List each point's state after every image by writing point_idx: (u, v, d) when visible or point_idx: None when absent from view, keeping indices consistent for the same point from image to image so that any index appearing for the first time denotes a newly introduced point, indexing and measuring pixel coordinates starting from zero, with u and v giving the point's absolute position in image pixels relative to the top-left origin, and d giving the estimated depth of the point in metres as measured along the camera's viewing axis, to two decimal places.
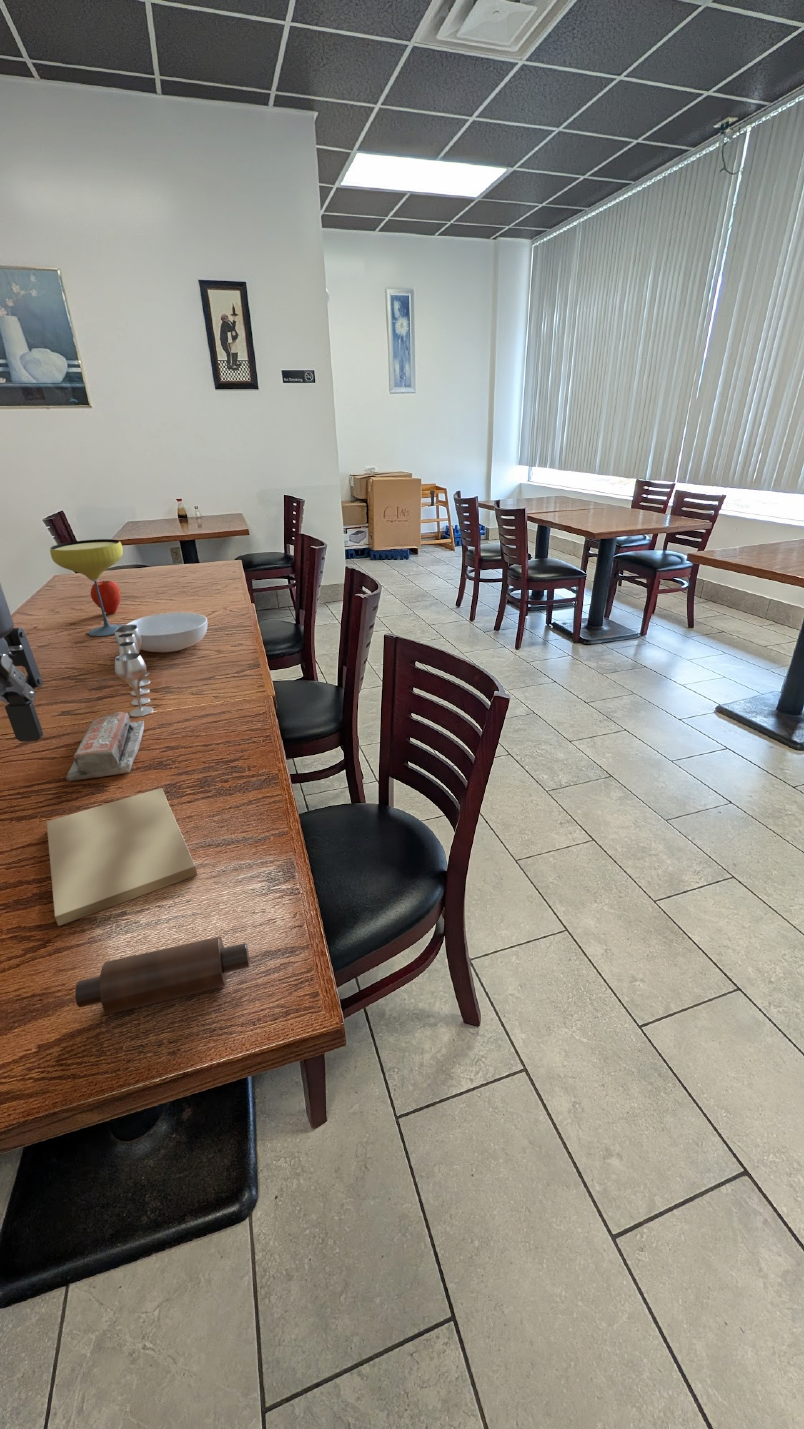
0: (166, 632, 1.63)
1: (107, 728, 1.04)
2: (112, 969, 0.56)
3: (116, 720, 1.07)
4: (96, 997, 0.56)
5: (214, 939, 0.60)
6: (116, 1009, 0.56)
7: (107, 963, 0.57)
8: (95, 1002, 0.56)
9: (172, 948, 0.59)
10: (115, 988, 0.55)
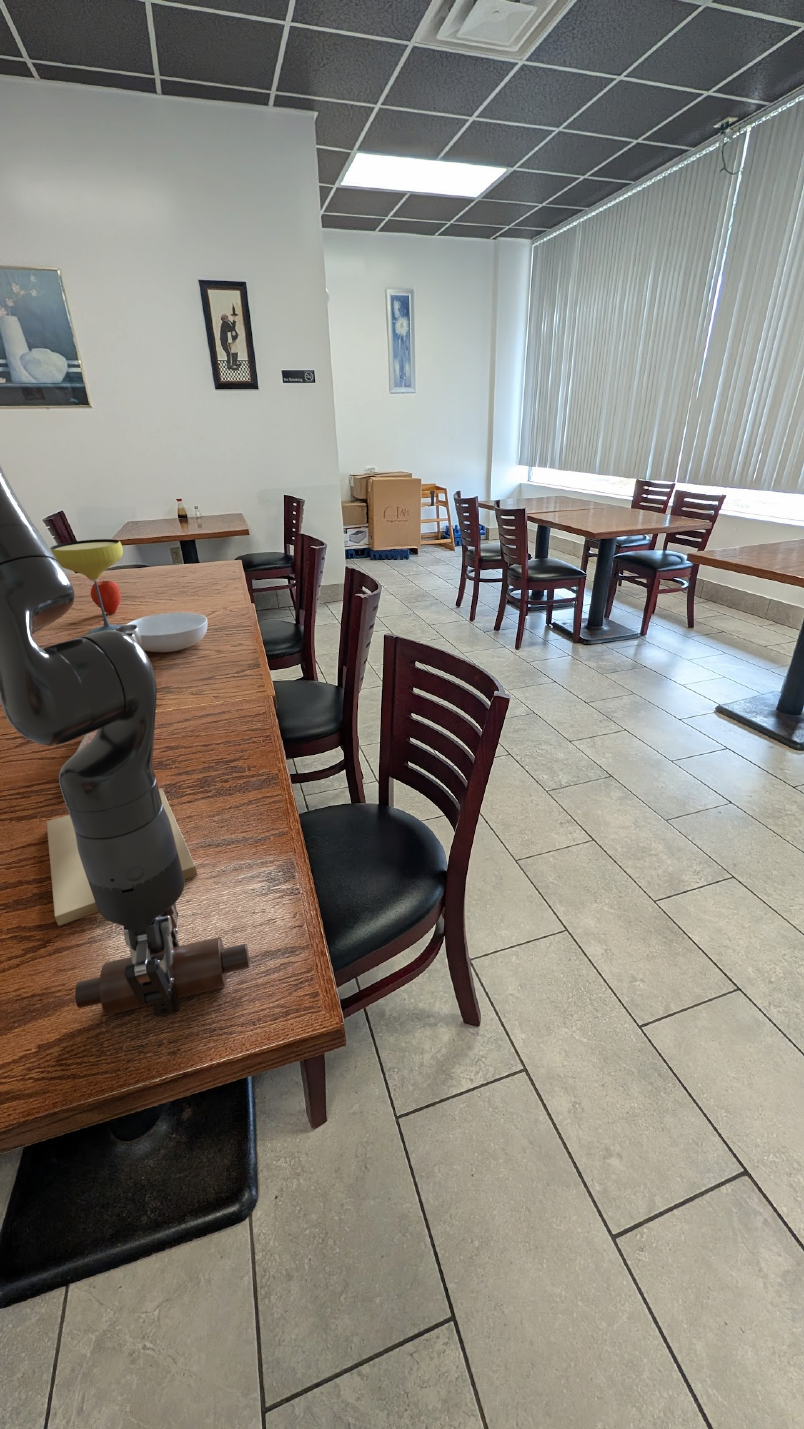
0: (166, 632, 1.63)
1: None
2: (112, 970, 0.56)
3: None
4: (96, 998, 0.56)
5: (214, 940, 0.59)
6: (116, 1011, 0.56)
7: (107, 964, 0.57)
8: (95, 1003, 0.56)
9: None
10: (115, 990, 0.55)
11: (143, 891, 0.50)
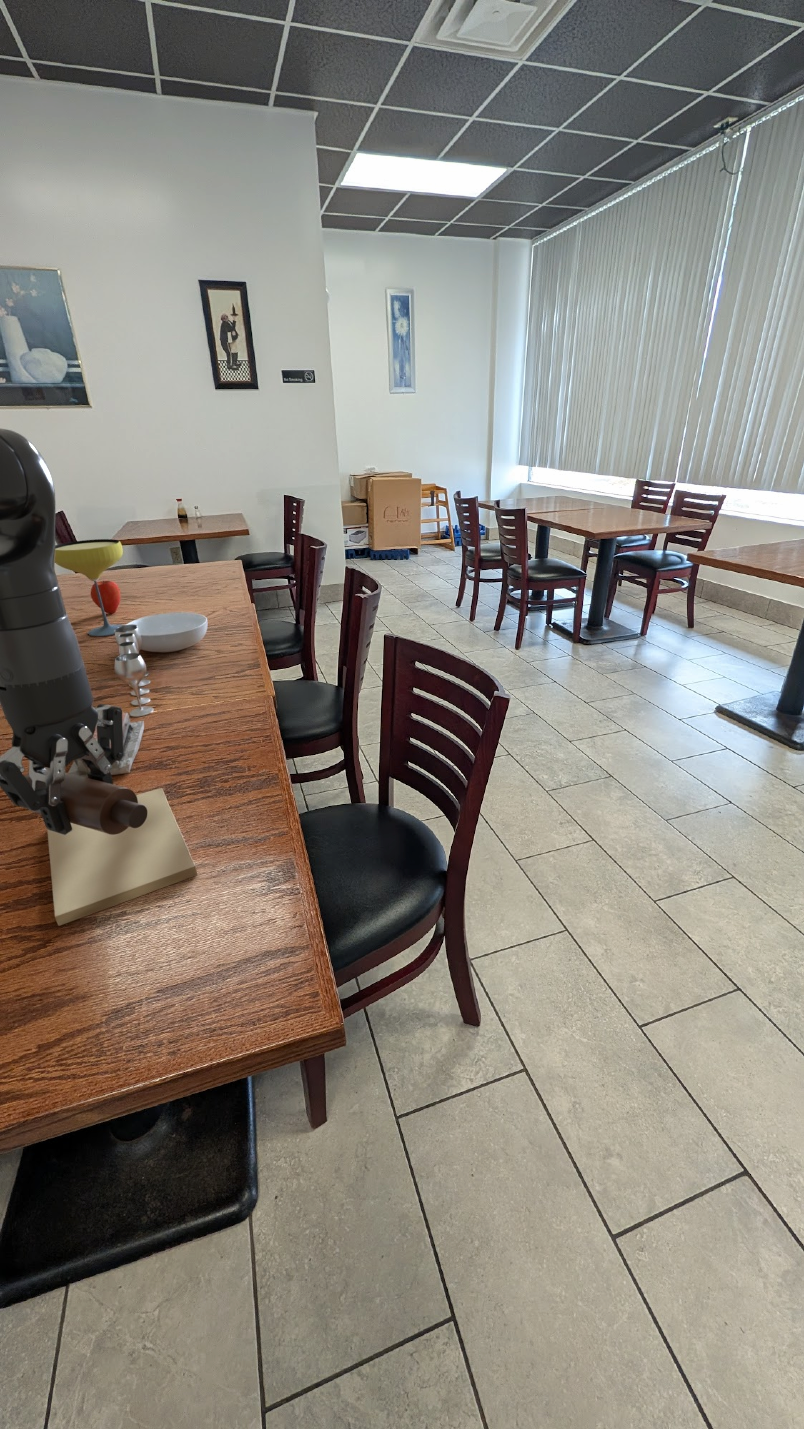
0: (166, 632, 1.63)
1: None
2: None
3: None
4: None
5: (117, 787, 0.59)
6: None
7: (46, 769, 0.63)
8: None
9: (88, 779, 0.61)
10: None
11: (15, 696, 0.52)
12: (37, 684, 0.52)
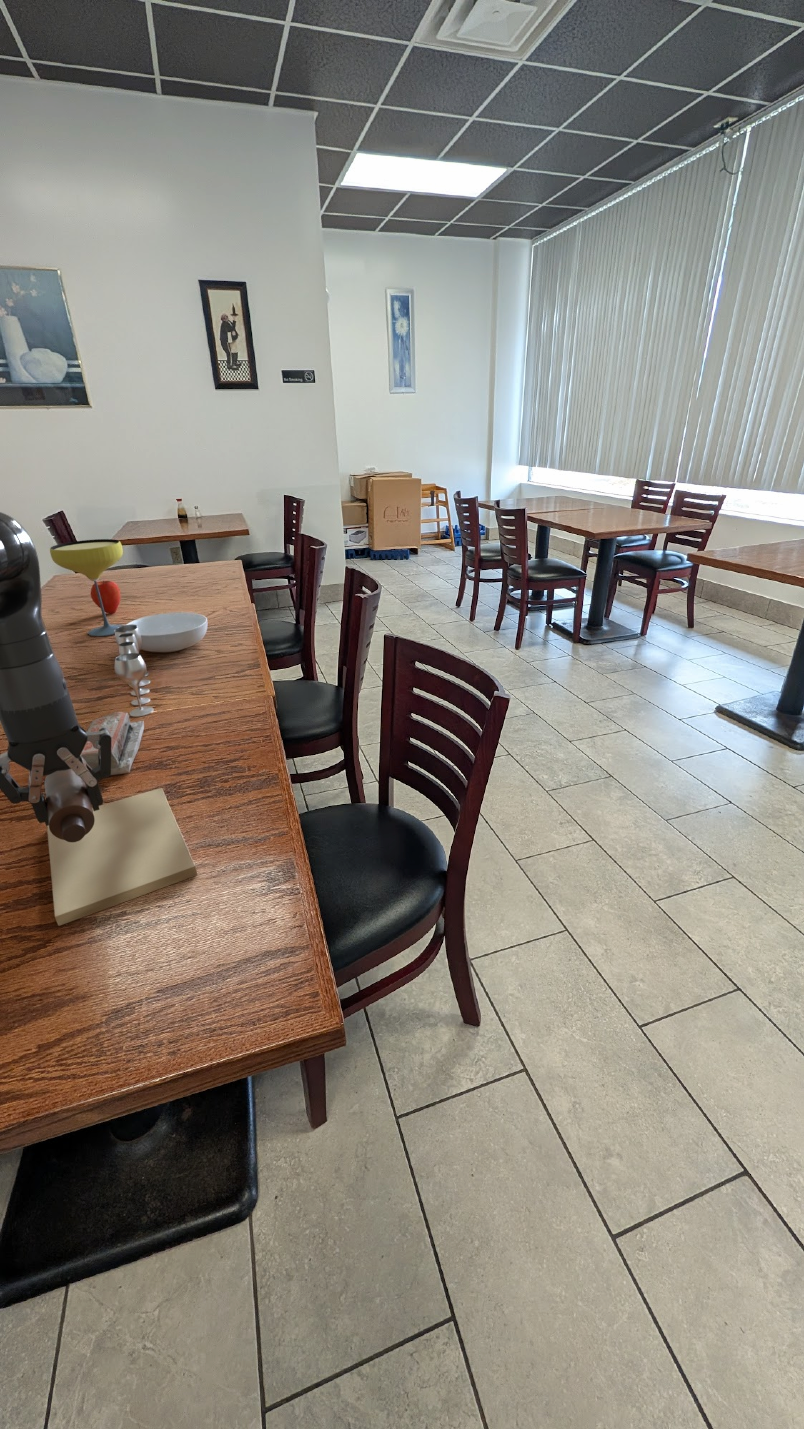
0: (166, 632, 1.63)
1: (107, 728, 1.04)
2: None
3: (115, 720, 1.07)
4: None
5: (74, 803, 0.70)
6: None
7: None
8: None
9: (72, 787, 0.73)
10: (46, 781, 0.76)
11: (0, 716, 0.66)
12: (8, 712, 0.65)
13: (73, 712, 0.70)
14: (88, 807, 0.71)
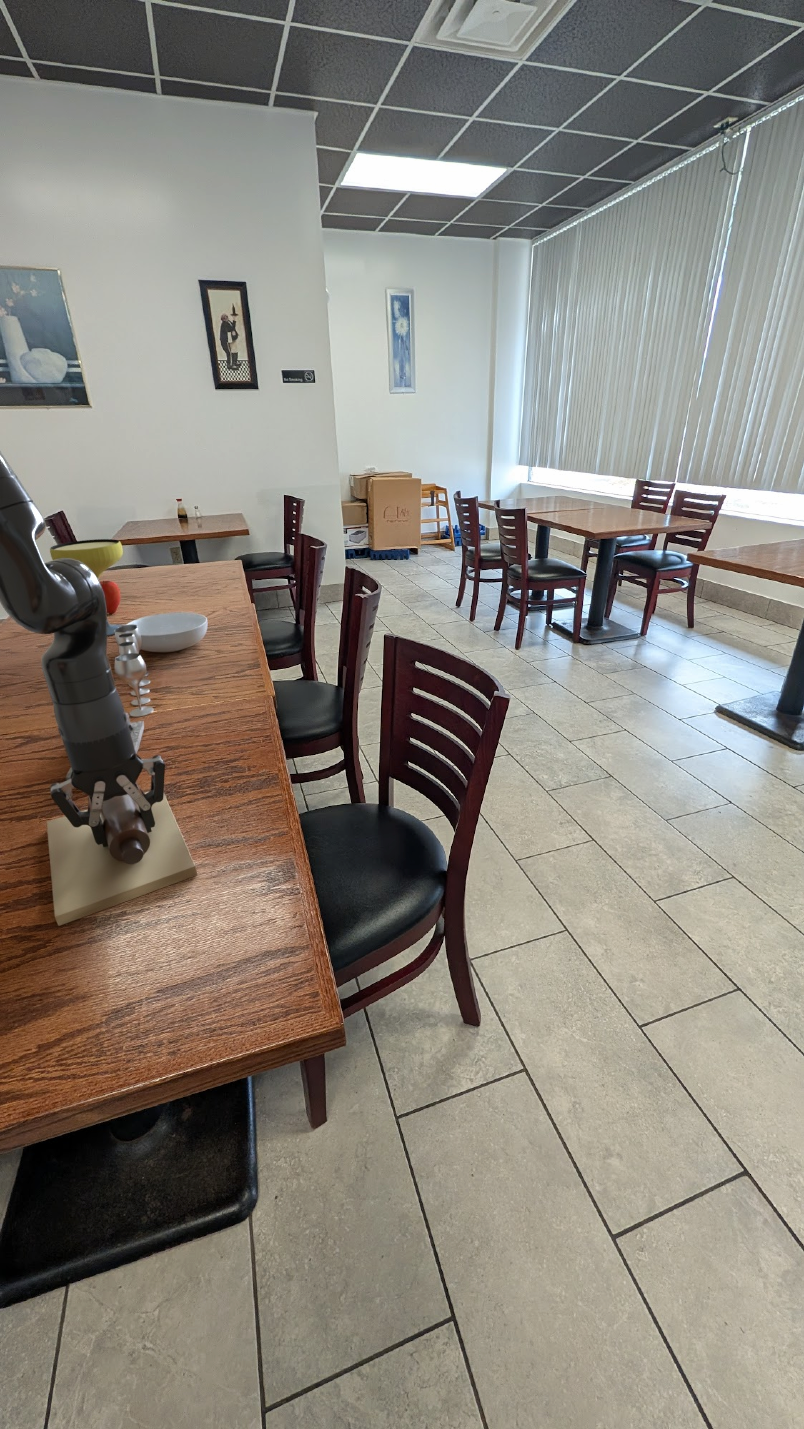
0: (166, 632, 1.63)
1: None
2: None
3: None
4: None
5: (132, 827, 0.75)
6: None
7: None
8: None
9: (128, 811, 0.78)
10: (102, 805, 0.81)
11: (66, 747, 0.71)
12: (75, 743, 0.70)
13: (131, 742, 0.75)
14: (144, 830, 0.76)
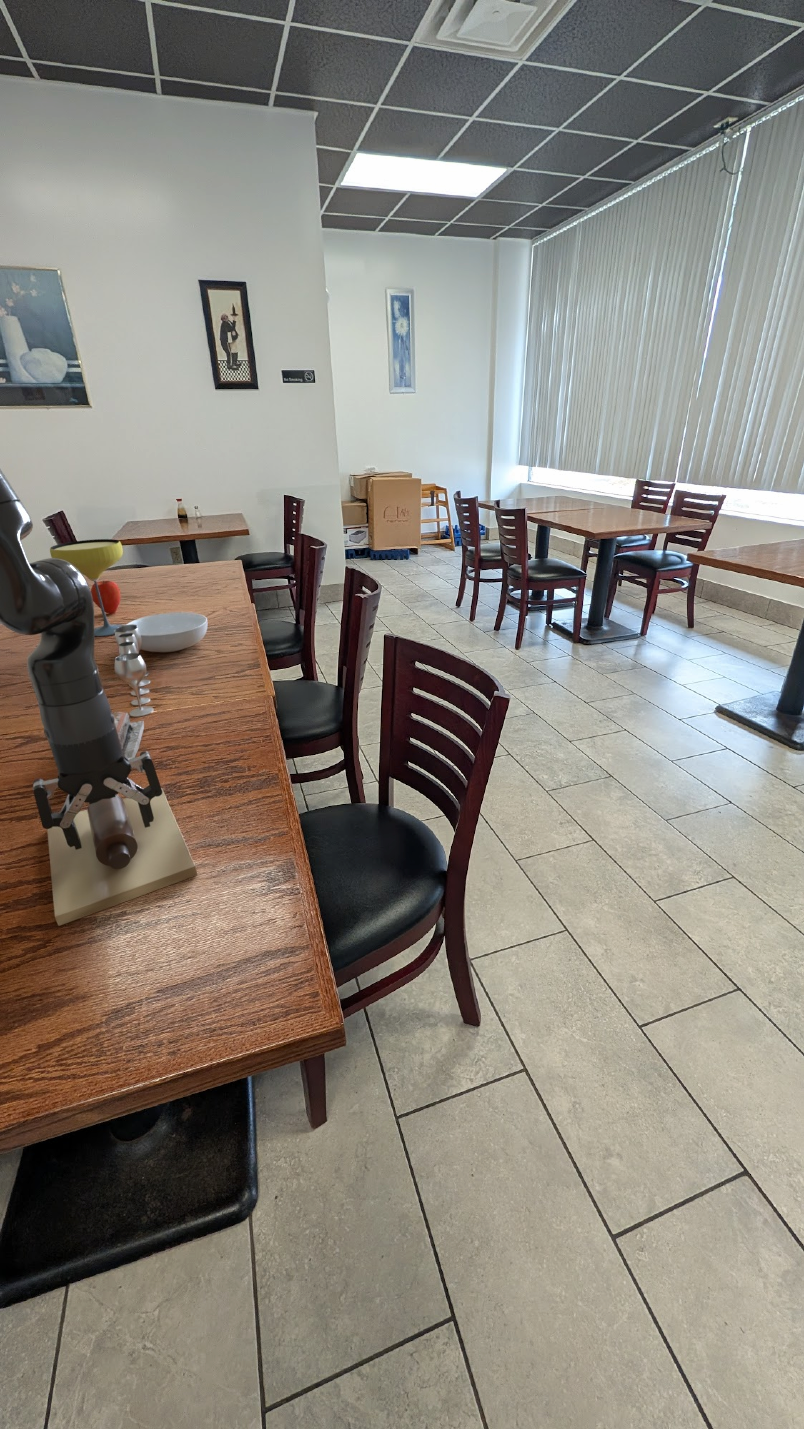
0: (166, 632, 1.63)
1: None
2: None
3: (115, 720, 1.07)
4: None
5: (118, 831, 0.74)
6: None
7: None
8: None
9: (115, 815, 0.77)
10: (89, 809, 0.80)
11: (52, 749, 0.70)
12: (61, 746, 0.69)
13: (119, 744, 0.74)
14: (131, 834, 0.75)
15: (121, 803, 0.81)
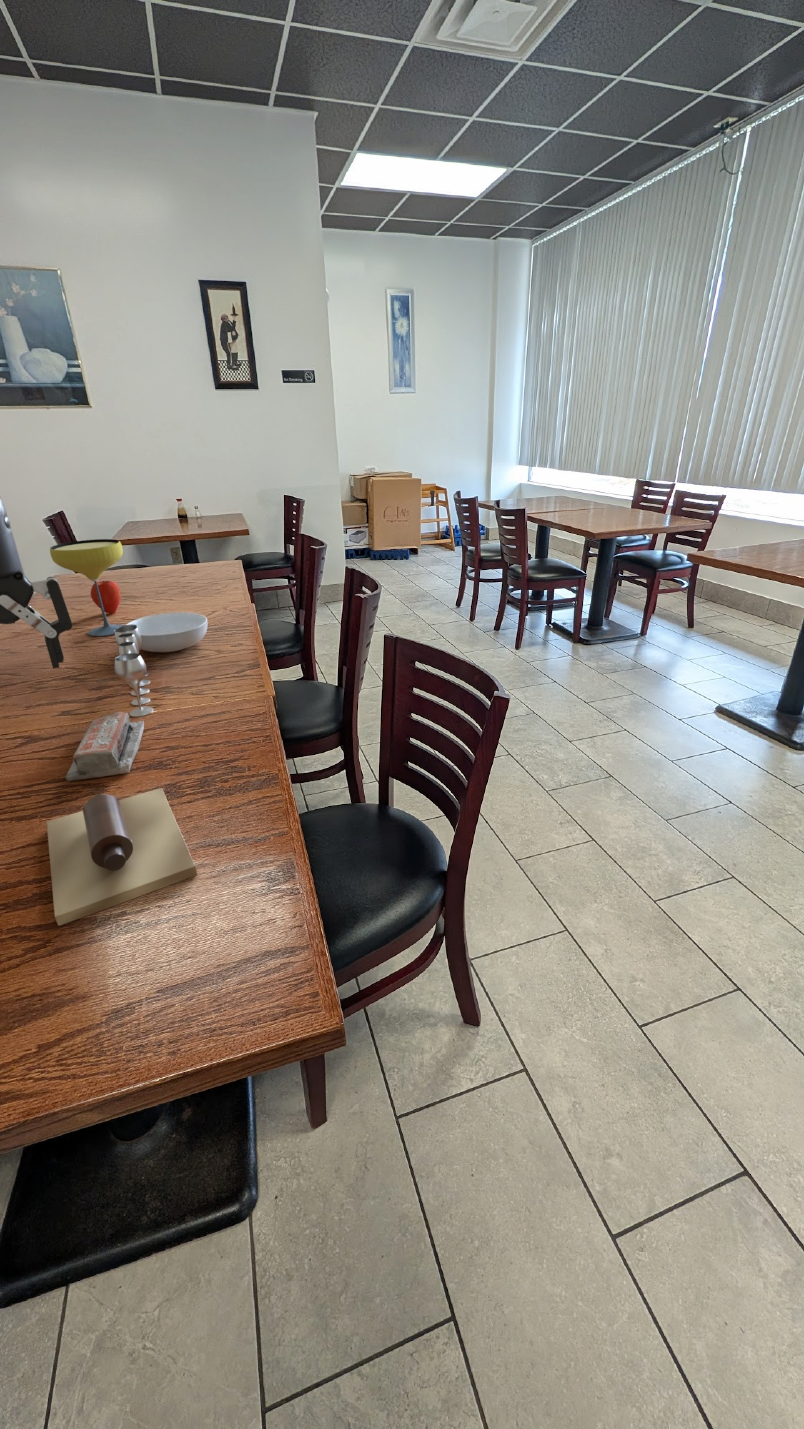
0: (166, 632, 1.63)
1: (107, 728, 1.04)
2: (92, 801, 0.80)
3: (115, 720, 1.07)
4: None
5: (109, 834, 0.73)
6: None
7: (100, 796, 0.81)
8: None
9: (106, 817, 0.77)
10: (84, 813, 0.80)
11: None
12: None
13: (17, 557, 0.64)
14: (123, 834, 0.74)
15: (113, 803, 0.81)
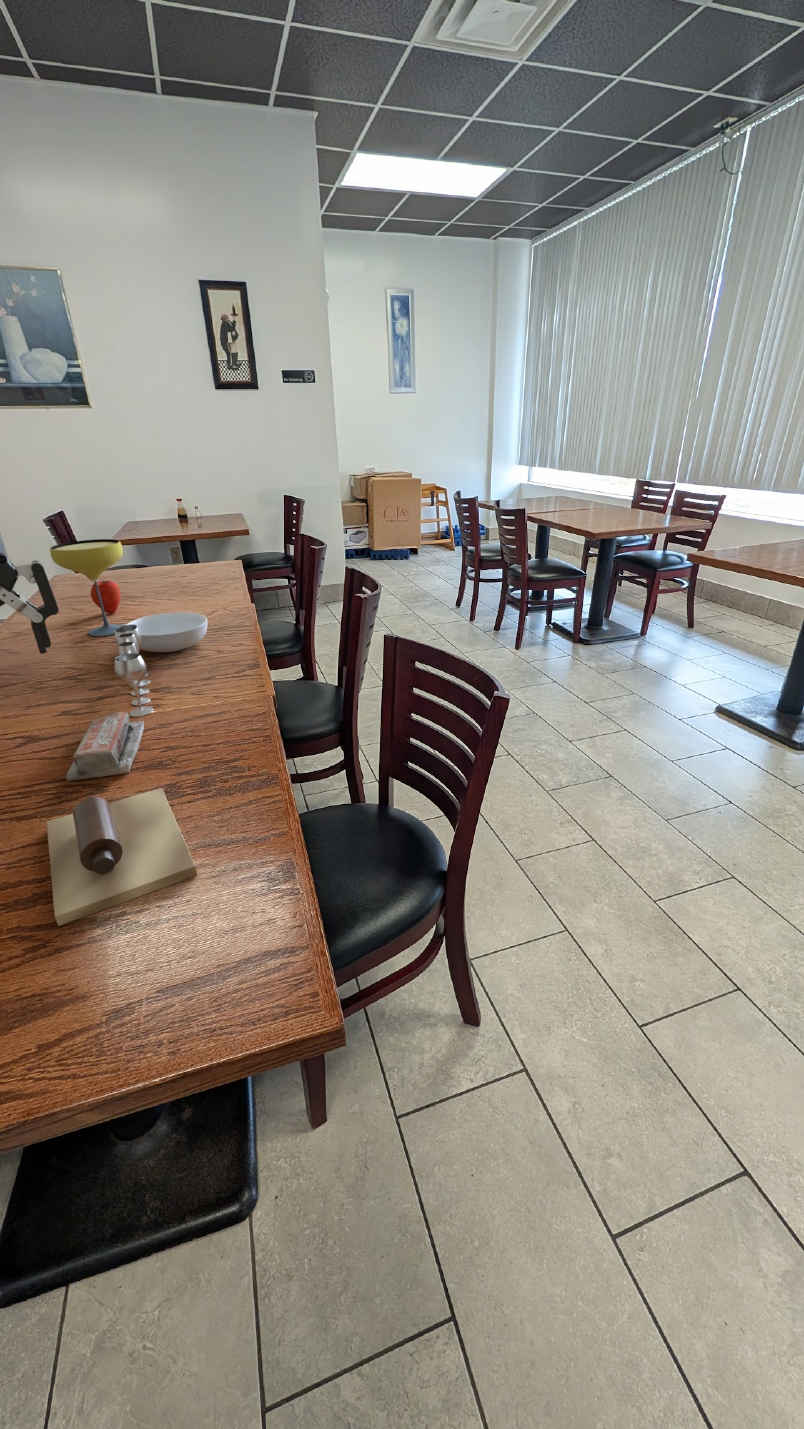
0: (166, 632, 1.63)
1: (107, 728, 1.04)
2: (75, 811, 0.80)
3: (115, 720, 1.07)
4: None
5: (88, 842, 0.72)
6: None
7: (80, 803, 0.80)
8: None
9: (85, 824, 0.76)
10: None
11: None
12: None
13: (0, 540, 0.63)
14: (102, 836, 0.73)
15: (94, 805, 0.79)
